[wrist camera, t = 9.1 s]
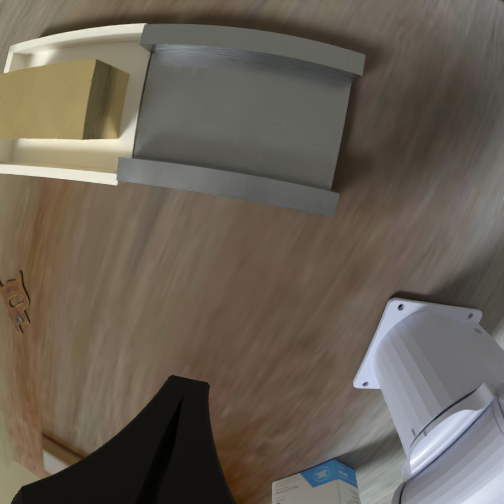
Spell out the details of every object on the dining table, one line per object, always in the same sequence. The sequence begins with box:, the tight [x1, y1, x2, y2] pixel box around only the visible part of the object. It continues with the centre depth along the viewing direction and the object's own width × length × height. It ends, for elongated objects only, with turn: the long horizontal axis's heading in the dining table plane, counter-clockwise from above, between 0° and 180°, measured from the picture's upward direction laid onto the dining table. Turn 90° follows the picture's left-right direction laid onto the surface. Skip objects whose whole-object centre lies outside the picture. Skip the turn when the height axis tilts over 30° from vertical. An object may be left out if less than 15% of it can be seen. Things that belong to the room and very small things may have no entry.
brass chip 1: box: [0, 66, 38, 139], centre depth 13 cm, size 4×4×4 cm
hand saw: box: [0, 270, 30, 334], centre depth 24 cm, size 24×5×1 cm, turn 5°
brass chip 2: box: [26, 59, 130, 140], centre depth 13 cm, size 4×4×4 cm
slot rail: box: [116, 24, 365, 217], centre depth 14 cm, size 11×8×3 cm
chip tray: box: [0, 23, 152, 185], centre depth 14 cm, size 11×9×2 cm
